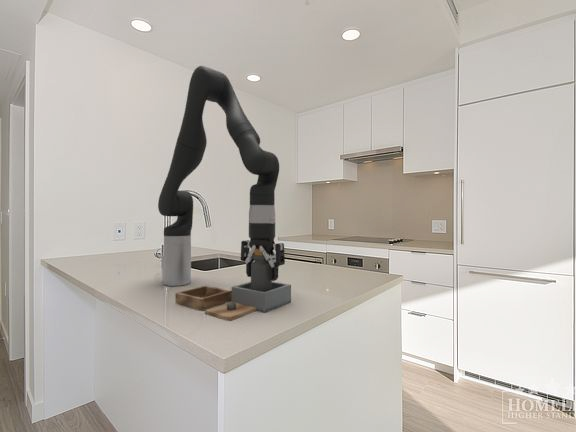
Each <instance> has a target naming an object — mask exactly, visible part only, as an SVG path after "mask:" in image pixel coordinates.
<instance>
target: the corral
mask: <svg viewBox="0 0 576 432" xmlns="http://www.w3.org/2000/svg"><path fill="white" fill-rule="evenodd" d="M174 297H175V298H174V299H175V304H176V305H179V306H183V307H186V308H190V309H193V310H196V311H201V312H202V311H205V310H208V309H211V308H214V307H217V306H220V305H223V304H226V303H230V302H231V290H229V289H224V288H218V287H215V286H210V285H202V286H199V287H194V288H191V289H187V290H186V289H185V290H182V291H178V292H175V296H174Z"/></svg>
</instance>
